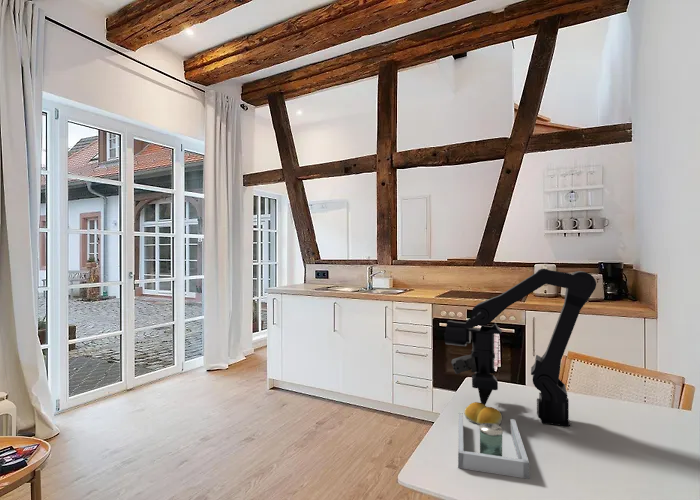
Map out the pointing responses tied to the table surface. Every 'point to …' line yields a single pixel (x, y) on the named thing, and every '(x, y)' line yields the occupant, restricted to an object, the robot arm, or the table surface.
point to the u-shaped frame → (495, 462)
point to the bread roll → (482, 414)
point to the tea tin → (491, 439)
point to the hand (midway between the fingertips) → (483, 404)
